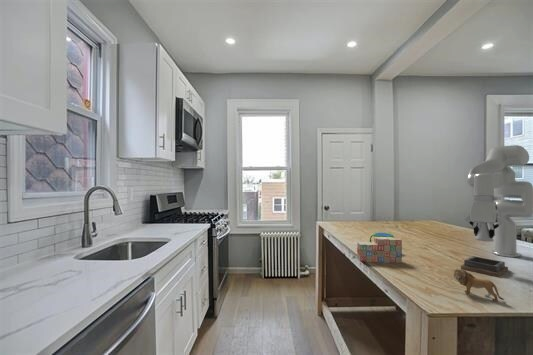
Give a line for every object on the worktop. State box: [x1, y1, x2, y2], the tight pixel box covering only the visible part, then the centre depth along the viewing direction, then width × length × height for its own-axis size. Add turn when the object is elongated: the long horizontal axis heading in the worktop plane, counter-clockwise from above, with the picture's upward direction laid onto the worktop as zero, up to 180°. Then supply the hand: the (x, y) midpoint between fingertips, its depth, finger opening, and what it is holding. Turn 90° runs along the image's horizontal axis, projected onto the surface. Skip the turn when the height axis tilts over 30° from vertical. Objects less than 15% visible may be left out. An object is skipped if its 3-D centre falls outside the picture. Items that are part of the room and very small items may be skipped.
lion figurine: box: [453, 268, 505, 303], centre depth 102 cm, size 15×5×9 cm, turn 53°
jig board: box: [460, 255, 509, 278], centre depth 132 cm, size 16×14×4 cm
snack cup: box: [369, 232, 397, 242], centre depth 167 cm, size 16×11×10 cm
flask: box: [474, 222, 494, 242], centre depth 132 cm, size 7×7×10 cm
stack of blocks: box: [356, 236, 403, 264], centre depth 146 cm, size 21×6×12 cm, turn 86°
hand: (484, 236), depth 132 cm, fingers closed on flask, 5 cm apart
